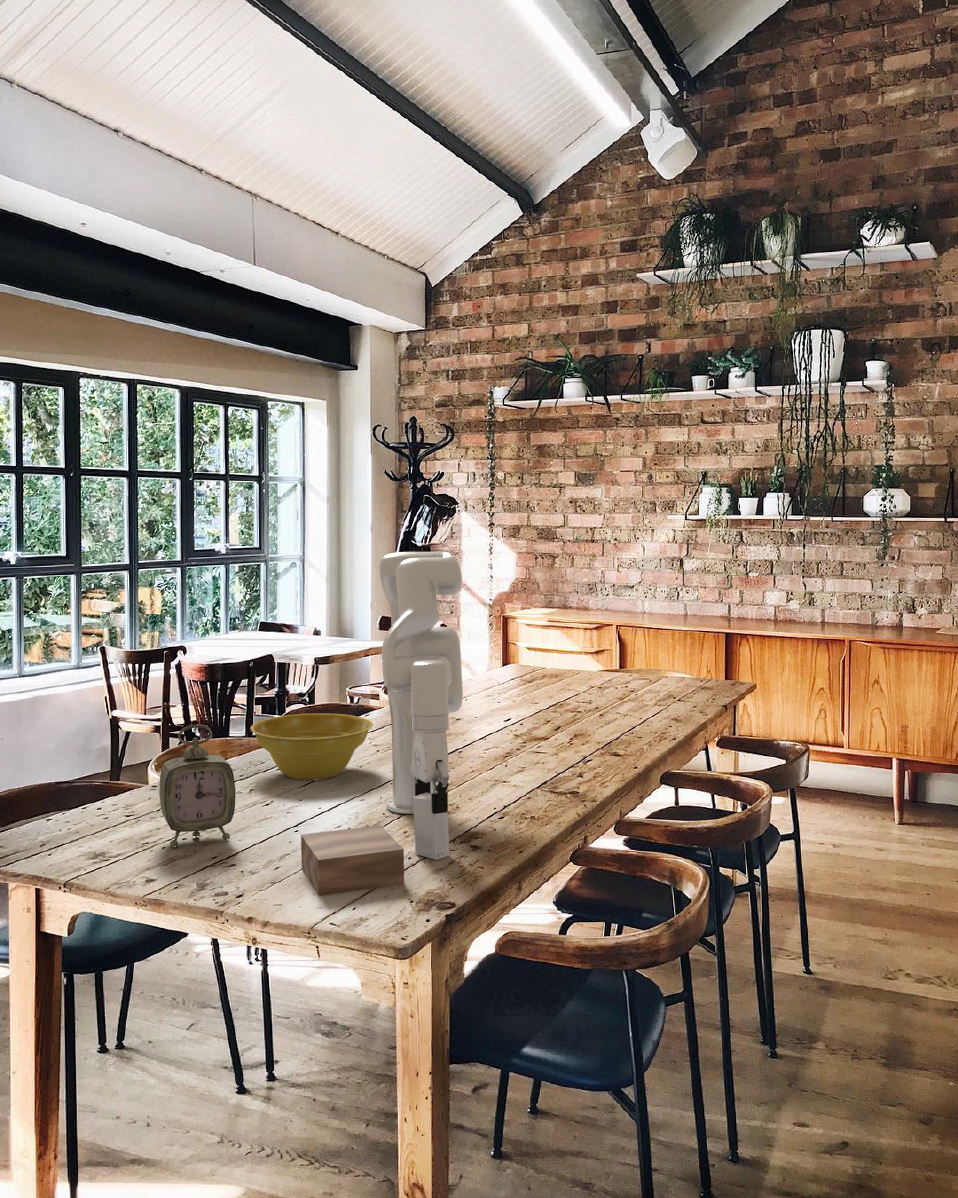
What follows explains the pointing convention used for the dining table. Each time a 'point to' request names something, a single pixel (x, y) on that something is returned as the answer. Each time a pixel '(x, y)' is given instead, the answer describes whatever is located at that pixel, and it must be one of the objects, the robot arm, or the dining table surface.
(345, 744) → the planter bowl
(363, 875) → the walnut block
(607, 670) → the dining table surface
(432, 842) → the skincare box
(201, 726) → the tabletop clock
